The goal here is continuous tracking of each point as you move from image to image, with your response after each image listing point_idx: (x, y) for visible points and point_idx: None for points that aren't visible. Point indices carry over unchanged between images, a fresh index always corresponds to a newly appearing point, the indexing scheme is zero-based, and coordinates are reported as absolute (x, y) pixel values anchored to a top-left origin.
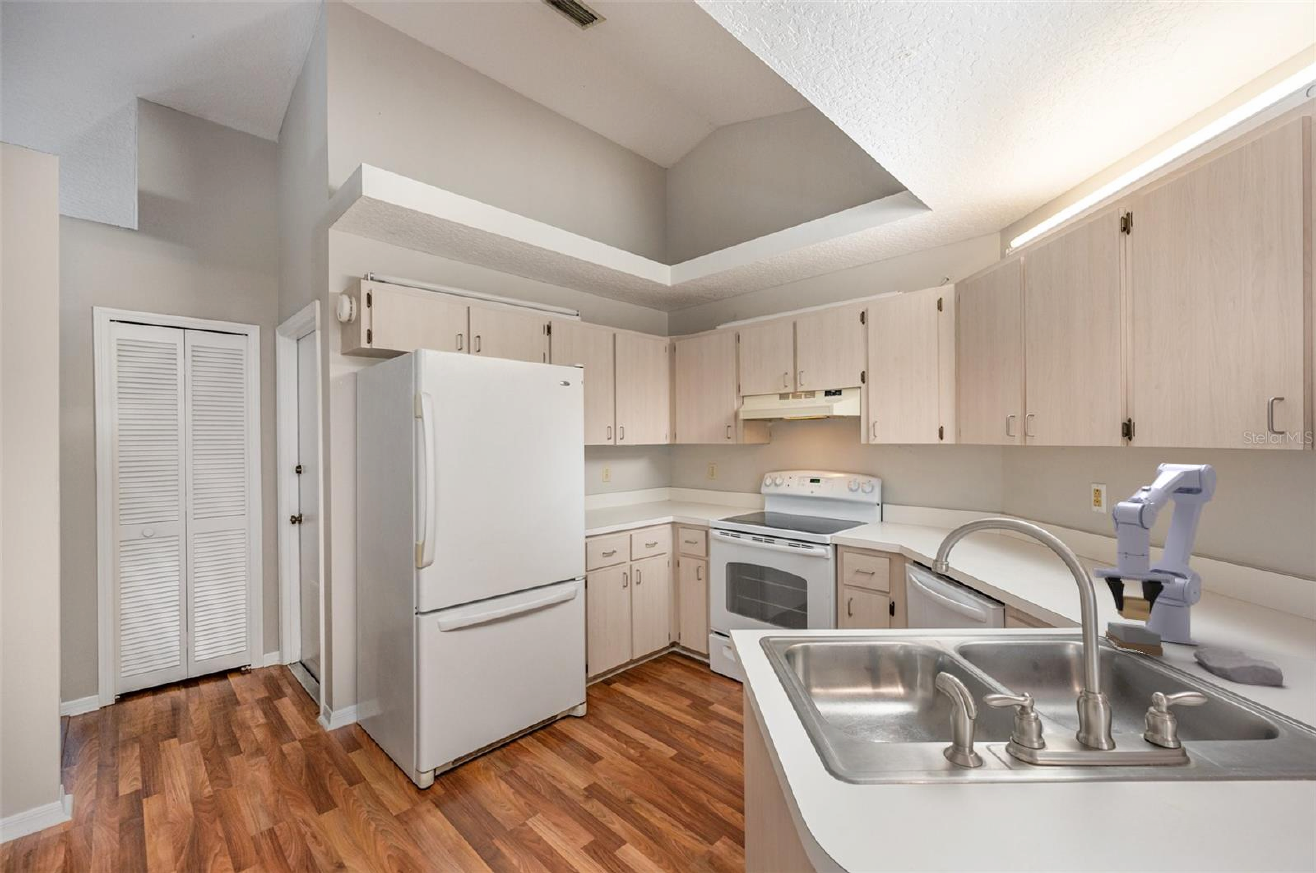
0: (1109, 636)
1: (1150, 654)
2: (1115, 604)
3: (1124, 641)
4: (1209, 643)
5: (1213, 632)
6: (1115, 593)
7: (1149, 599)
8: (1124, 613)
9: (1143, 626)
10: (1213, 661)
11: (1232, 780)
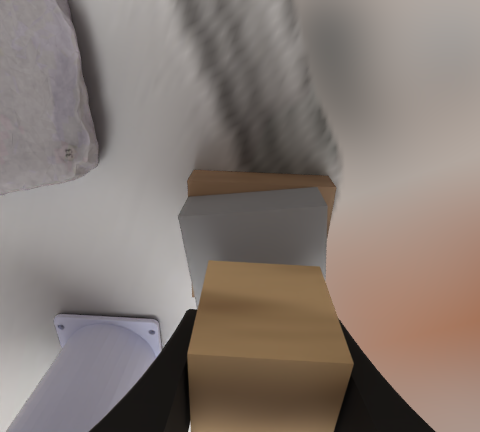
0: None
1: (229, 171)
2: None
3: (316, 188)
4: (27, 344)
5: (5, 419)
6: (423, 422)
7: (178, 383)
8: (325, 289)
9: None
10: (45, 58)
11: None
